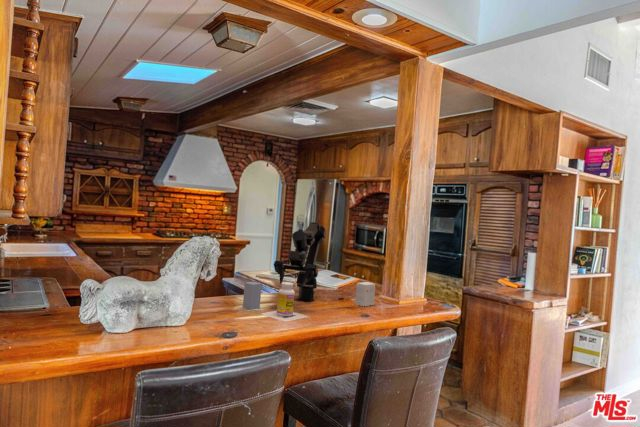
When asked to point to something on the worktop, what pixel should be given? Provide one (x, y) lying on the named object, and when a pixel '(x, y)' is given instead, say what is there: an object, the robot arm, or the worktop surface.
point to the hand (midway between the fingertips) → (291, 284)
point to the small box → (365, 294)
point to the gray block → (252, 295)
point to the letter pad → (285, 319)
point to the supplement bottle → (285, 300)
